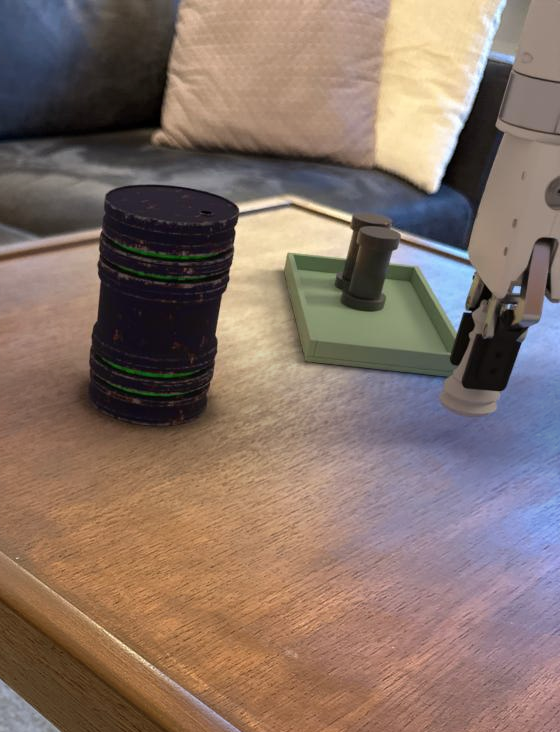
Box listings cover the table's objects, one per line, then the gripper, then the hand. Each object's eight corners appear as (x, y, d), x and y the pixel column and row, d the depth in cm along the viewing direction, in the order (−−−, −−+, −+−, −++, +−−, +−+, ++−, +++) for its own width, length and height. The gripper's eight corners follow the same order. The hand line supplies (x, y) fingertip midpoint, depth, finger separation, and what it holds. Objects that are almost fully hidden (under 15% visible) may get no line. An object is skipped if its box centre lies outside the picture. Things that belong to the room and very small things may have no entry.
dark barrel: (61, 397, 78) (74, 198, 69) (131, 362, 84) (152, 176, 75) (165, 439, 74) (194, 233, 64) (230, 399, 80) (266, 207, 71)
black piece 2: (380, 298, 101) (399, 228, 97) (386, 313, 98) (406, 241, 93) (337, 294, 101) (354, 223, 97) (342, 309, 98) (360, 236, 93)
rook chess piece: (432, 391, 78) (462, 291, 73) (489, 397, 78) (523, 297, 73) (441, 416, 75) (472, 313, 70) (500, 422, 75) (537, 319, 70)
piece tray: (413, 284, 107) (418, 266, 106) (464, 378, 87) (471, 357, 86) (283, 270, 107) (287, 252, 106) (305, 361, 88) (310, 339, 86)
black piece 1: (372, 282, 105) (390, 214, 101) (379, 296, 102) (398, 226, 97) (331, 278, 105) (348, 209, 101) (336, 292, 102) (353, 221, 97)
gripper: (670, 142, 57) (556, 430, 68) (581, 88, 70) (498, 339, 81) (539, 132, 57) (448, 421, 69) (475, 81, 70) (407, 331, 81)
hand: (476, 374), depth 75 cm, fingers closed on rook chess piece, 3 cm apart
